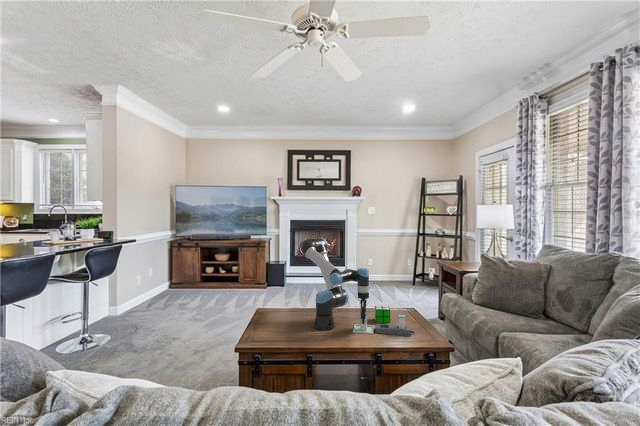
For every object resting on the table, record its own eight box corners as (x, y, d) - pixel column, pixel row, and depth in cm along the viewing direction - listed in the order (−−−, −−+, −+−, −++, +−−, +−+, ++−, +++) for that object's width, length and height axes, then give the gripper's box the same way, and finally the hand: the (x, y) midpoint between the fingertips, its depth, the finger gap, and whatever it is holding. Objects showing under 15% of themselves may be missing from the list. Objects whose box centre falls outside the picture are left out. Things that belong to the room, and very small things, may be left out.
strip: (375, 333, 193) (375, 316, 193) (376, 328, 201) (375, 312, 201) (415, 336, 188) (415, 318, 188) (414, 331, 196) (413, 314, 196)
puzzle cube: (388, 319, 220) (388, 305, 221) (390, 323, 210) (390, 309, 211) (374, 318, 221) (374, 305, 222) (376, 323, 211) (375, 309, 212)
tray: (352, 333, 194) (352, 331, 194) (354, 326, 207) (354, 324, 207) (373, 334, 191) (373, 332, 191) (374, 327, 204) (374, 325, 204)
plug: (360, 330, 197) (360, 314, 197) (360, 328, 201) (360, 312, 202) (366, 330, 197) (366, 314, 197) (367, 328, 201) (366, 312, 201)
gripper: (368, 295, 190) (368, 332, 190) (369, 288, 207) (370, 322, 207) (356, 294, 192) (356, 331, 191) (358, 288, 208) (359, 322, 208)
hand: (363, 327), depth 199 cm, fingers closed on plug, 4 cm apart
